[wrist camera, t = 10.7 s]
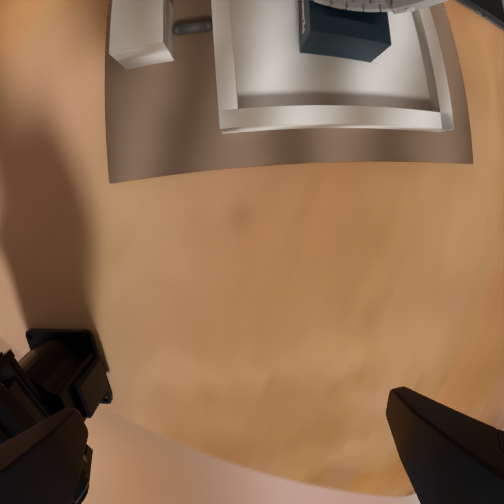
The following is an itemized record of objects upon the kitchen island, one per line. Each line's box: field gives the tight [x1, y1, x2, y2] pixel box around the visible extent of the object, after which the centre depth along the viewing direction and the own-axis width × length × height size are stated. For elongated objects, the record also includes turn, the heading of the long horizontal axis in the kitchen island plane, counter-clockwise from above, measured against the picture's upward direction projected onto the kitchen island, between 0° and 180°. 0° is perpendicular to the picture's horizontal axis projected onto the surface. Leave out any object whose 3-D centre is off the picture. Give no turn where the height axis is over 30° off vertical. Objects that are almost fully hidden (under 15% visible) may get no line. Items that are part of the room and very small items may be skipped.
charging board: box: [105, 0, 473, 183], centre depth 15 cm, size 24×18×4 cm
